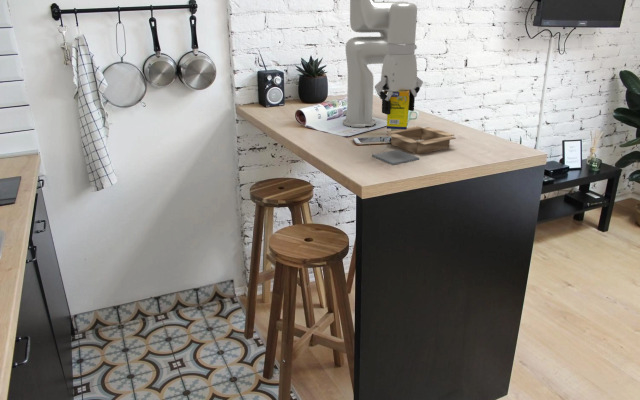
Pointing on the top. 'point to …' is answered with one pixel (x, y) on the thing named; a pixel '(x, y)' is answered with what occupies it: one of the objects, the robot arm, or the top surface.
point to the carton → (430, 136)
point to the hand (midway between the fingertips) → (397, 111)
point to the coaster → (395, 157)
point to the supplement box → (399, 110)
